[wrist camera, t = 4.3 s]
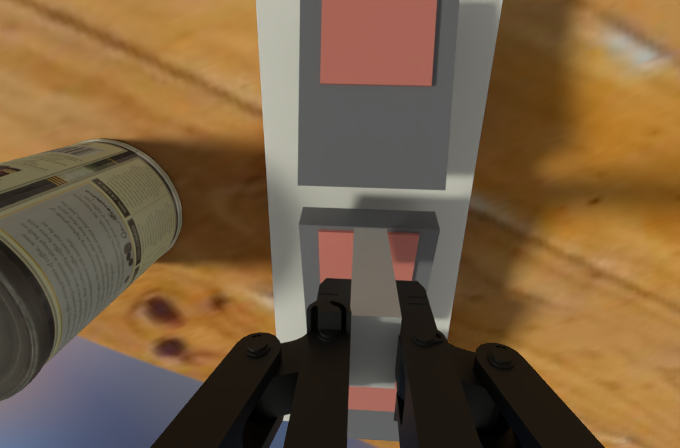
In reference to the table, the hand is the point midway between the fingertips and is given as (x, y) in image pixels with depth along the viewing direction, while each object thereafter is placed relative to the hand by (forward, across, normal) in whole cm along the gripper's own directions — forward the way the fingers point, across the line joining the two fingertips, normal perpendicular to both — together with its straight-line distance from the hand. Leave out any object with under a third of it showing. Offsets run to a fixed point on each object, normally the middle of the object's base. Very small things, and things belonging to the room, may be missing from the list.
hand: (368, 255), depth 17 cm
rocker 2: (+4, 0, -3) cm, 5 cm away
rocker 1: (+4, 0, +7) cm, 8 cm away
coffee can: (+11, -19, -2) cm, 22 cm away
